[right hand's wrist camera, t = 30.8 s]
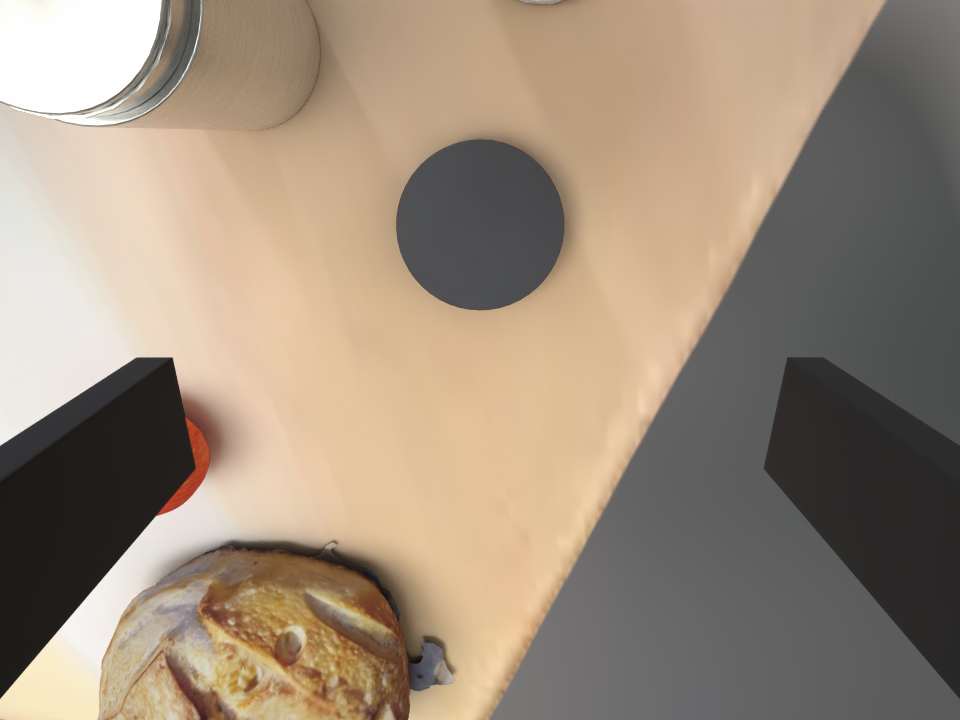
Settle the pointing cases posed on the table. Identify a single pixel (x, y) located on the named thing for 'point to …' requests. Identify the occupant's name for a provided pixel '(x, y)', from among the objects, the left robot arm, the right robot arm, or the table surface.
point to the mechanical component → (540, 1)
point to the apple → (197, 476)
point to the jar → (159, 61)
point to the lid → (480, 225)
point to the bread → (264, 644)
